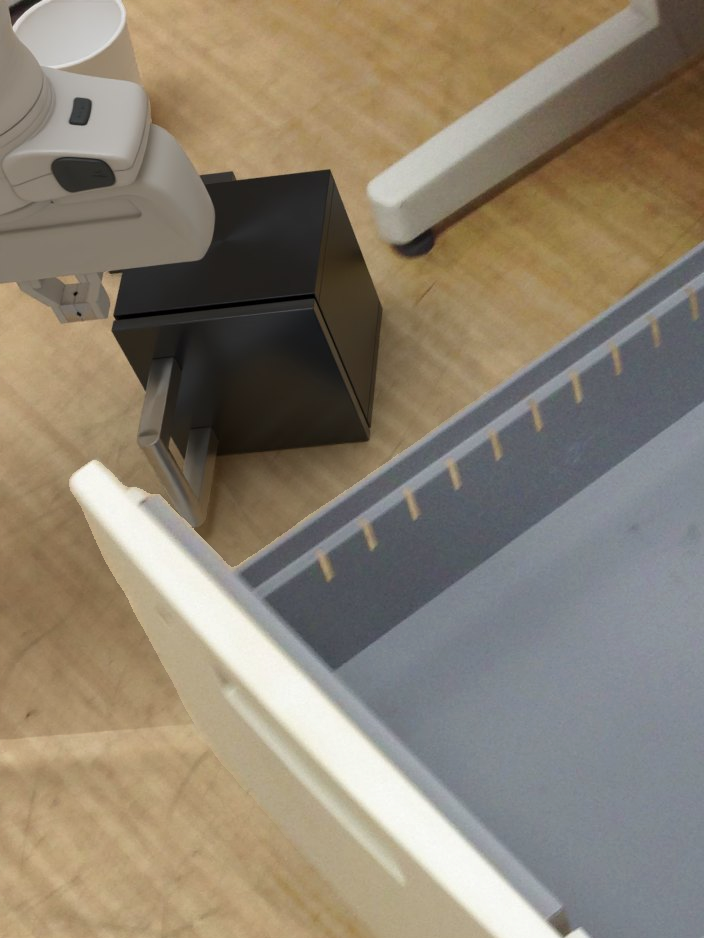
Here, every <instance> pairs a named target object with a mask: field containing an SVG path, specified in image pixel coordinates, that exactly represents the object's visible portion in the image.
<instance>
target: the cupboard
mask: <svg viewBox="0 0 704 938" xmlns="http://www.w3.org/2000/svg"><path fill="white" fill-rule="evenodd" d="M204 186H205V188H206V190H207V192H208V194H209V196H210V198H211V201H212V203H213V206H214V210H215V225H214V232H213V237H212V241H211V244H210V246H209V248H208V250H207V252H206V254H205V256H204V257H203V258H202V259H200V260H197V261H190V262H180V263H172V264H163V265H155V266H147V267H138V268H130V269H123V271H122V273H121V276H120V281H119V282H120V283H119V287H118V291H117V296H116V300H115V303H114V304H115V305H114V308H113V309H114V310H113V315H112V316H113V318H114V320H122V319H131V318H140V317H149V316H158V315H167V314H176V313H185V312H194V311H203V310H212V309H221V308H230V307H239V306H248V305H257V304H266V303H275V302H284V301H293V300H302V299H311V298H314V299H315V301H316V303H317V306H318V308H319V310H320V313H321V315H322V318H323V320H324V322H325V325H326V327H327V330H328V332H329V334H330V337H331V339H332V342H333V344H334V346H335V349H336V351H337V353H338V356H339V358H340V361H341V363H342V365H343V368H344V370H345V373H346V375H347V377H348V380H349V382H350V384H351V387H352V389H353V392H354V394H355V396H356V399H357V401H358V404H359V406H360V408H361V411H362V413H363V416H364V418H365V420H366V423H367V425H368V427H369V429H371V427H372V420H373V419H372V418H373V407H374V396H375V389H376V388H375V387H376V379H377V368H378V359H379V349H380V338H381V328H382V319H383V309H384V308H383V306H382V303H381V300H380V297H379V295H378V291H377V289H376V286H375V284H374V281H373V279H372V276H371V273H370V270H369V268H368V266H367V262H366V260H365V258H364V255H363V252H362V249H361V247H360V243H359V242H358V239H357V235H356V233H355V231H354V229H353V226H352V223H351V221H350V218H349V215H348V212H347V210H346V207H345V205H344V201H343V200H342V199H343V198H342V196H341V193H340V190H339V188H338V186H337V183H336V180H335V178H334V175H333V171H332V170H331V169H330V168H328V169H319V170H318V169H317V170H310V171H303V172H294V173H286V174H278V175H268V176H261V177H252V178H251V177H250V178H243V179H236V180H234V181H226V182H217V183H209V184H204Z"/></svg>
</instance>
